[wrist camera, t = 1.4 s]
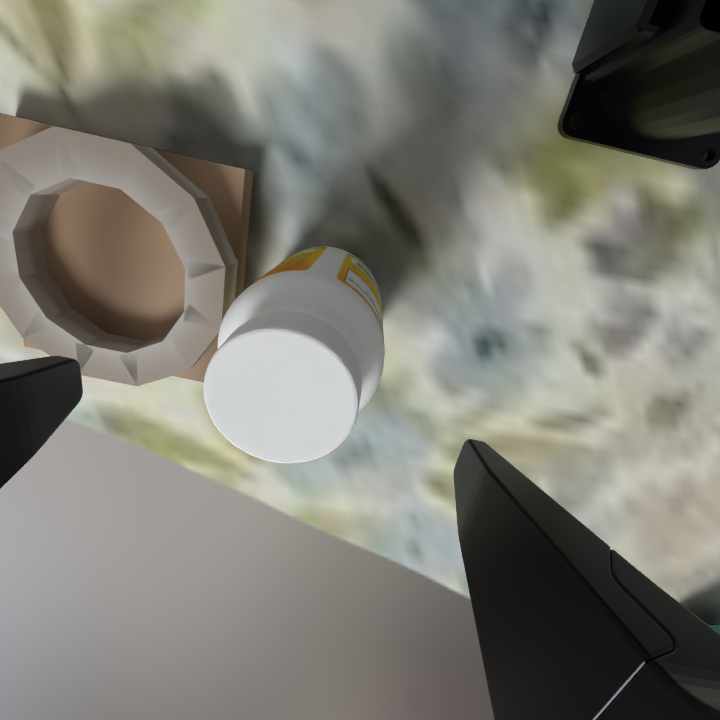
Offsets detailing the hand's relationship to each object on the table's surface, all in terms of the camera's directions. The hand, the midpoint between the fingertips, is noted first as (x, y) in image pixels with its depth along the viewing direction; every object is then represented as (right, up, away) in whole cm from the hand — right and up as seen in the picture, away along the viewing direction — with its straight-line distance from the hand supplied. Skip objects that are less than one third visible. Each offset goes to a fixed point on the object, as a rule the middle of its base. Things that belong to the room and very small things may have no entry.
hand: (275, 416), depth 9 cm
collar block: (-8, +6, +9) cm, 14 cm away
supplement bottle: (0, +4, +10) cm, 11 cm away
